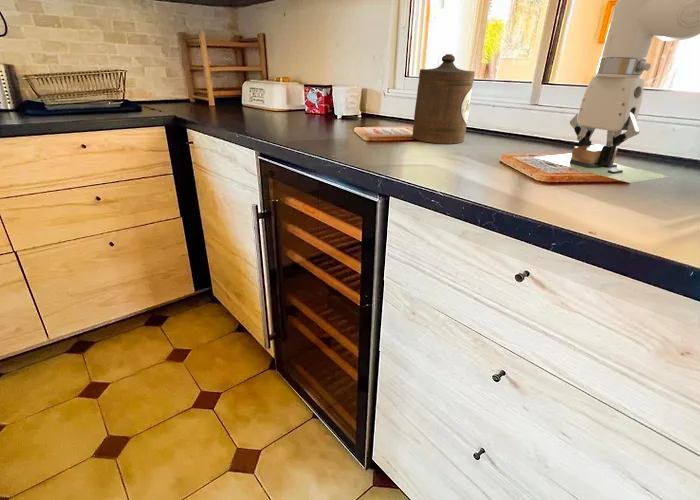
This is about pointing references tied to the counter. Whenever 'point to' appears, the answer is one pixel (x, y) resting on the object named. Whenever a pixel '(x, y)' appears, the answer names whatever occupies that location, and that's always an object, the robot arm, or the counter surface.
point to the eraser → (588, 156)
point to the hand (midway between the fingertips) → (591, 161)
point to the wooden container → (443, 103)
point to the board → (605, 169)
